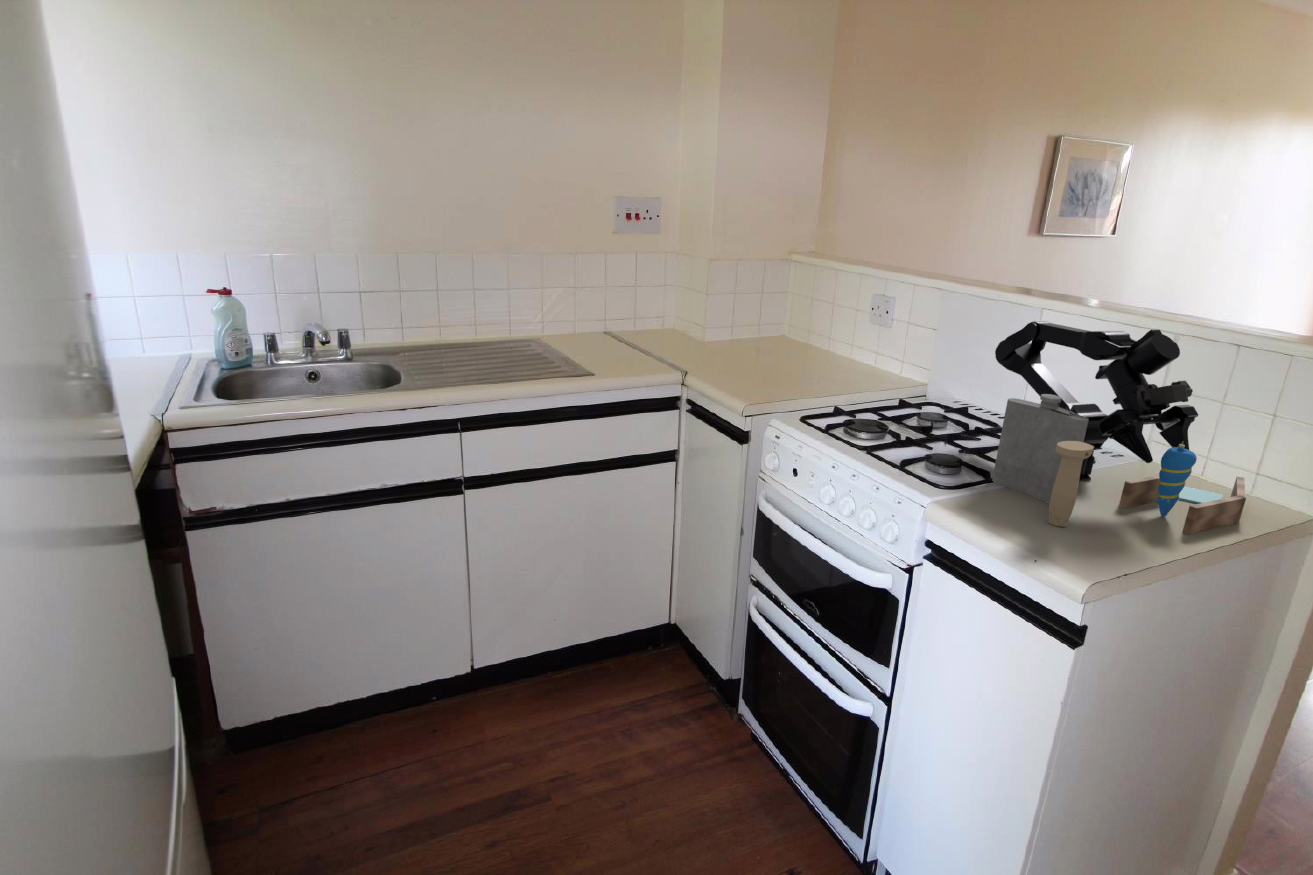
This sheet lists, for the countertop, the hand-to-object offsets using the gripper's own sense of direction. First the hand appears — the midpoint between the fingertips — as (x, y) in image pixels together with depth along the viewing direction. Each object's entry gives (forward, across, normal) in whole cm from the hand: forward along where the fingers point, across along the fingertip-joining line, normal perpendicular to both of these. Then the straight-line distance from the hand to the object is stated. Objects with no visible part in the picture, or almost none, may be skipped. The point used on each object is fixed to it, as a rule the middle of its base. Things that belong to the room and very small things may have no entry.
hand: (1168, 460), depth 140 cm
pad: (+4, +16, +10) cm, 20 cm away
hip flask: (-2, -16, +18) cm, 24 cm away
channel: (+7, +8, +8) cm, 13 cm away
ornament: (+9, 0, +6) cm, 11 cm away
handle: (+7, -23, +8) cm, 25 cm away
